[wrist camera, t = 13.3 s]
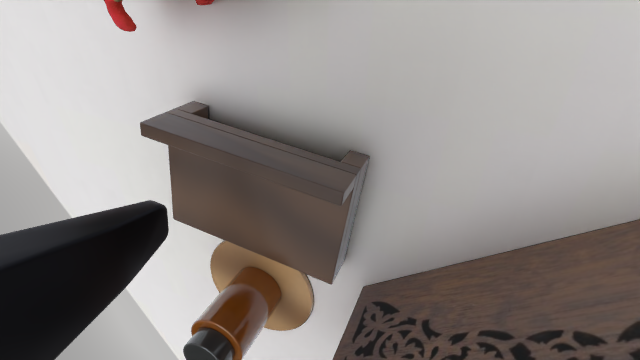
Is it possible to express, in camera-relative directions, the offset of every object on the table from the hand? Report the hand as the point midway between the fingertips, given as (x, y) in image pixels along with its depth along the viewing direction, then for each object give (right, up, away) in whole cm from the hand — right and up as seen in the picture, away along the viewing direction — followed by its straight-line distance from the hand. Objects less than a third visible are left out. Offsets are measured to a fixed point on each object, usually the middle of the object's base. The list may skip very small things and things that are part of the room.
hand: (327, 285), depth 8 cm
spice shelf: (-3, +2, +16) cm, 17 cm away
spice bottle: (-5, -6, +21) cm, 22 cm away
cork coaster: (-5, -6, +21) cm, 22 cm away
